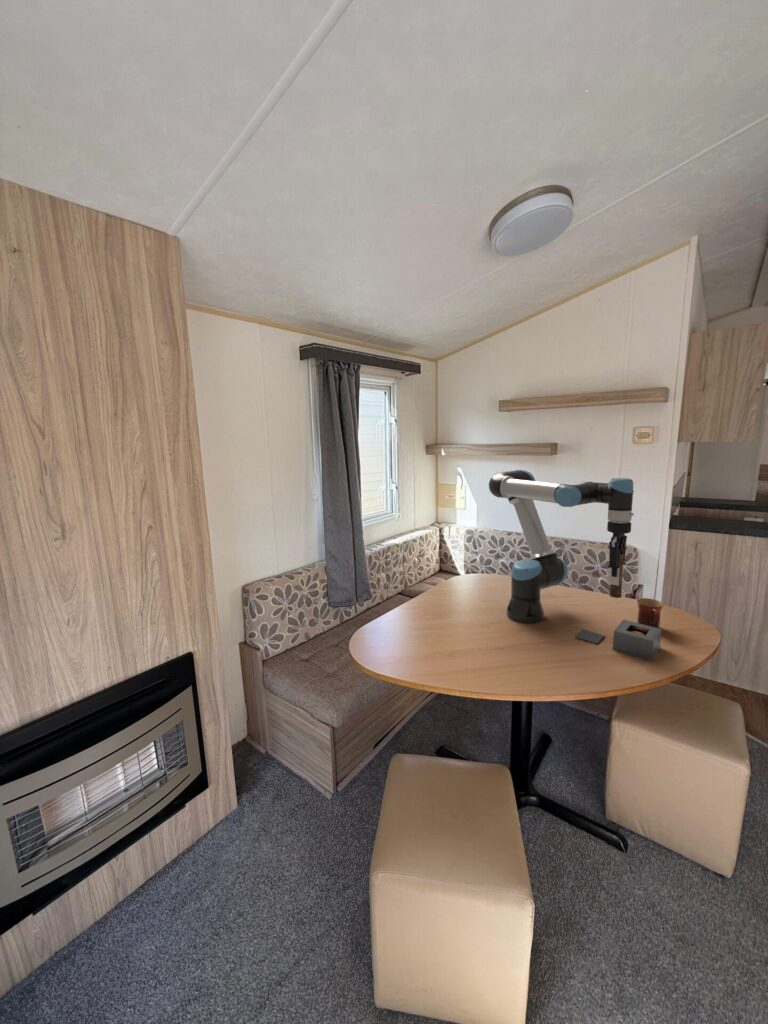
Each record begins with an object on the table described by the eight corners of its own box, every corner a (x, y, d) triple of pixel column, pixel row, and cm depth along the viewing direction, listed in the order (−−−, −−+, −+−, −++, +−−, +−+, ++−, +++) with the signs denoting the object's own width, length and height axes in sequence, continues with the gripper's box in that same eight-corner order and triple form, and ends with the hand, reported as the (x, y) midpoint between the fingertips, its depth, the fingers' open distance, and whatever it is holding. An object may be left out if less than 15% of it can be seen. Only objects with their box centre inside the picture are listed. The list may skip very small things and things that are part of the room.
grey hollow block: (612, 649, 147) (613, 630, 145) (622, 637, 155) (623, 619, 154) (651, 660, 138) (653, 641, 137) (659, 647, 147) (661, 629, 146)
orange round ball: (628, 642, 146) (628, 634, 146) (631, 637, 149) (632, 629, 149) (642, 646, 143) (643, 638, 143) (645, 641, 146) (646, 633, 146)
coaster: (574, 638, 156) (574, 636, 156) (582, 630, 161) (582, 629, 161) (597, 644, 150) (597, 643, 150) (604, 636, 156) (604, 635, 156)
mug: (631, 621, 168) (633, 597, 166) (655, 622, 166) (657, 598, 164) (643, 635, 156) (645, 609, 154) (669, 636, 154) (671, 610, 152)
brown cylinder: (608, 596, 154) (610, 554, 151) (611, 593, 156) (613, 552, 154) (619, 598, 151) (622, 556, 148) (622, 595, 154) (624, 554, 151)
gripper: (624, 526, 141) (621, 591, 144) (637, 518, 152) (633, 579, 156) (600, 523, 146) (597, 587, 150) (614, 516, 158) (611, 575, 161)
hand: (616, 582), depth 153 cm, fingers closed on brown cylinder, 4 cm apart
